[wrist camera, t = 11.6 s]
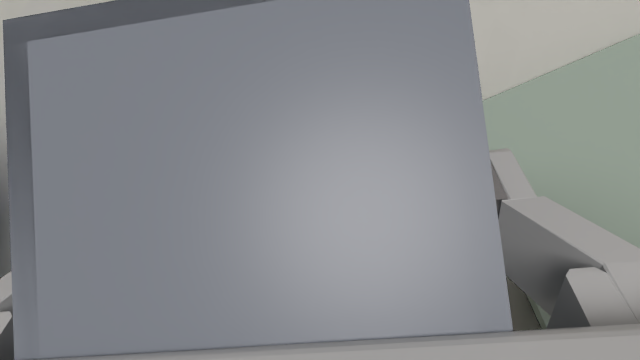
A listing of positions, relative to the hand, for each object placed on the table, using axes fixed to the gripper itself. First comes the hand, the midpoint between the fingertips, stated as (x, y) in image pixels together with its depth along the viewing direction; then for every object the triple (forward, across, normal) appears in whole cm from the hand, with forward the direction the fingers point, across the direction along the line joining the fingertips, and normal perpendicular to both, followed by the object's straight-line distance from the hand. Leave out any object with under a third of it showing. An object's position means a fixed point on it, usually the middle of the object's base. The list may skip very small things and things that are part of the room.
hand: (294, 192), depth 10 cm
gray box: (+4, 0, +4) cm, 6 cm away
